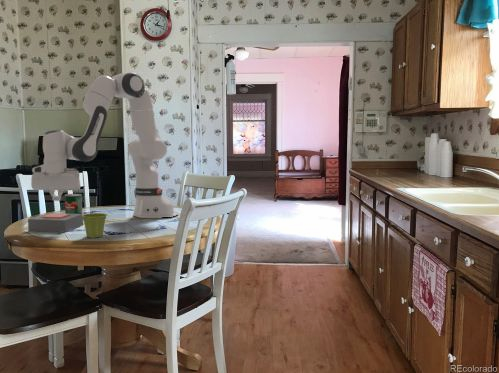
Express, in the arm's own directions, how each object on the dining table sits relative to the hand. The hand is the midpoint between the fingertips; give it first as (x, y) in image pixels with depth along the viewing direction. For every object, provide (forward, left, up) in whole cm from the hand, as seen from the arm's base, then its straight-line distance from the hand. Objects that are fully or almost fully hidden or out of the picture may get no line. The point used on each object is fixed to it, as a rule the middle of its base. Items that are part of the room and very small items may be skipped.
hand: (56, 200), depth 191 cm
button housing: (0, 0, -12) cm, 12 cm away
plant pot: (-23, +14, -12) cm, 30 cm away
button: (0, 0, -11) cm, 11 cm away
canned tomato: (+6, -28, -12) cm, 31 cm away
